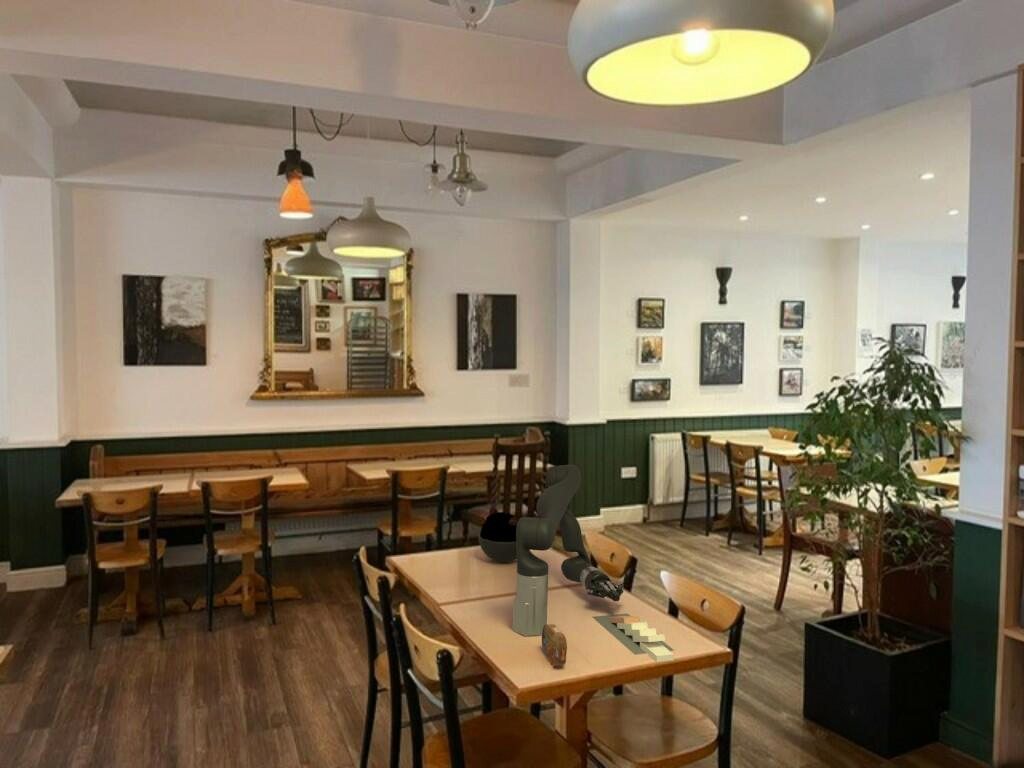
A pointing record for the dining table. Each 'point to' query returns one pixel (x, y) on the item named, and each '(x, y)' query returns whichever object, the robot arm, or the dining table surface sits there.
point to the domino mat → (623, 634)
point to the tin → (554, 645)
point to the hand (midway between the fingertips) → (617, 598)
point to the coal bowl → (499, 538)
